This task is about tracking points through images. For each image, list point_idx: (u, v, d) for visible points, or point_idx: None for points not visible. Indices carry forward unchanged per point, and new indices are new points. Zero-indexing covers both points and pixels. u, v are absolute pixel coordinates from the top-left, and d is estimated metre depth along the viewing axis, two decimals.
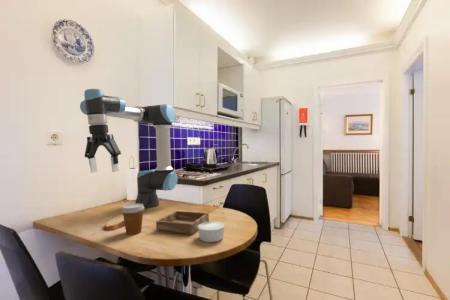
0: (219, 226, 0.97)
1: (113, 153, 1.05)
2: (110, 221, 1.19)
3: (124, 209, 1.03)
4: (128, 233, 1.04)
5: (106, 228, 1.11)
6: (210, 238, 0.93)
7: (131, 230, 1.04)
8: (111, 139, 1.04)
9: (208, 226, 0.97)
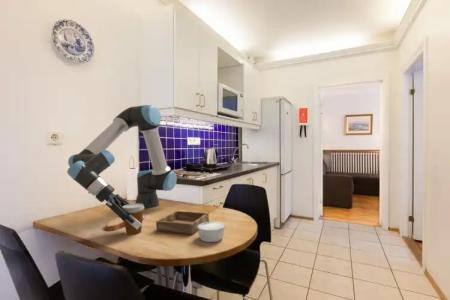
0: (219, 226, 0.97)
1: None
2: (111, 221, 1.19)
3: None
4: (128, 233, 1.04)
5: (107, 228, 1.11)
6: (210, 238, 0.93)
7: (131, 230, 1.04)
8: (111, 206, 0.99)
9: (208, 226, 0.97)
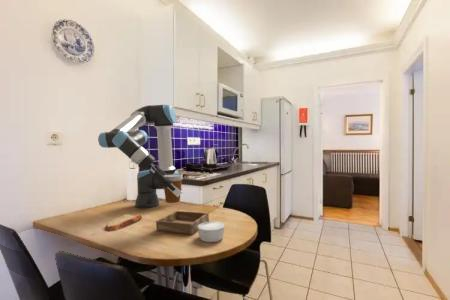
0: (219, 226, 0.97)
1: None
2: (112, 221, 1.19)
3: None
4: (168, 201, 1.08)
5: (107, 228, 1.11)
6: (210, 238, 0.93)
7: (172, 198, 1.08)
8: (154, 173, 1.03)
9: (208, 226, 0.97)
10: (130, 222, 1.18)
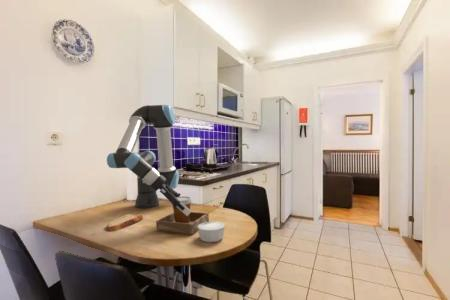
0: (219, 226, 0.97)
1: None
2: (113, 221, 1.19)
3: None
4: None
5: (108, 228, 1.11)
6: (210, 238, 0.93)
7: (182, 221, 1.12)
8: (165, 193, 1.05)
9: (208, 226, 0.97)
10: (131, 222, 1.18)
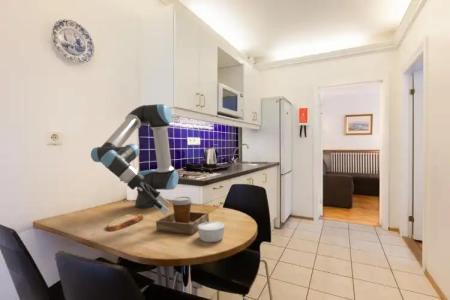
0: (219, 226, 0.97)
1: None
2: (113, 221, 1.19)
3: (175, 201, 1.12)
4: None
5: (108, 228, 1.11)
6: (210, 238, 0.93)
7: (182, 221, 1.12)
8: (142, 191, 1.03)
9: (208, 226, 0.97)
10: (131, 222, 1.18)
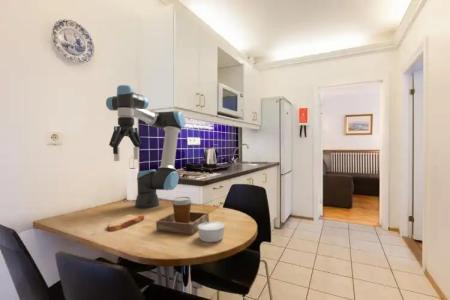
0: (219, 226, 0.97)
1: None
2: (114, 221, 1.18)
3: (175, 201, 1.12)
4: None
5: (109, 228, 1.10)
6: (210, 238, 0.93)
7: (182, 221, 1.12)
8: (115, 131, 1.13)
9: (208, 226, 0.97)
10: (132, 222, 1.17)
